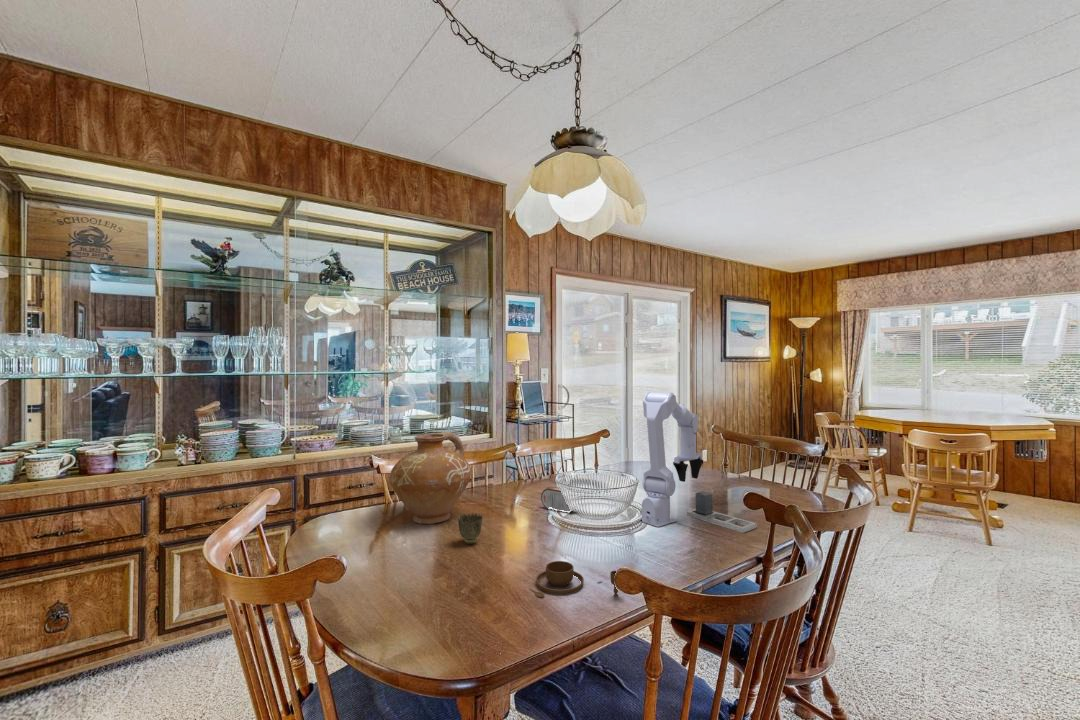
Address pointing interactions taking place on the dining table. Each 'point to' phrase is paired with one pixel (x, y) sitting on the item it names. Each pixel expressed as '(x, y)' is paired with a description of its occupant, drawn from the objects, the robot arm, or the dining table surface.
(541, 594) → the place setting
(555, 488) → the tin
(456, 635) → the dining table surface
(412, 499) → the jug
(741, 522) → the grey compartment tray
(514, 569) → the dining table surface
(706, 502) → the block
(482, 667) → the dining table surface
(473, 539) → the cup
